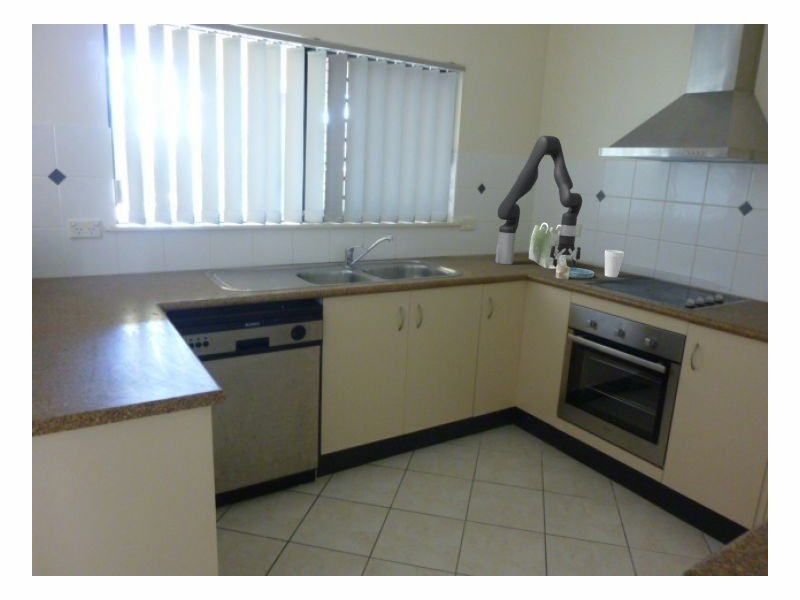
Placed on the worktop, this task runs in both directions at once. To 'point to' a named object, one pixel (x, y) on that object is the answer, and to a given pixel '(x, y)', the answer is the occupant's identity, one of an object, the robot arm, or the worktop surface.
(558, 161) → the robot arm
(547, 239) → the grocery bag
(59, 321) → the worktop surface
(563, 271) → the ash block
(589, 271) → the dish
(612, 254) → the foam cup
